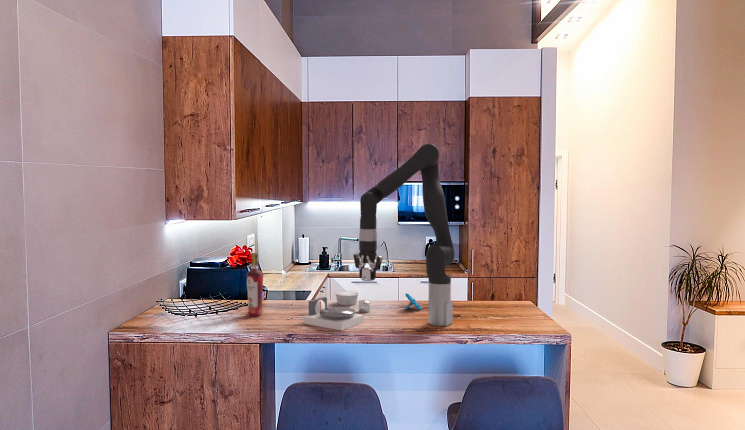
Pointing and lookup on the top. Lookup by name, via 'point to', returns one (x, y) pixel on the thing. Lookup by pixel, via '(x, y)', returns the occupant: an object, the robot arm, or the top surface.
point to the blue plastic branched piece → (412, 302)
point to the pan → (337, 312)
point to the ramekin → (346, 297)
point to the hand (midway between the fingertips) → (367, 278)
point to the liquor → (254, 288)
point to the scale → (328, 322)
